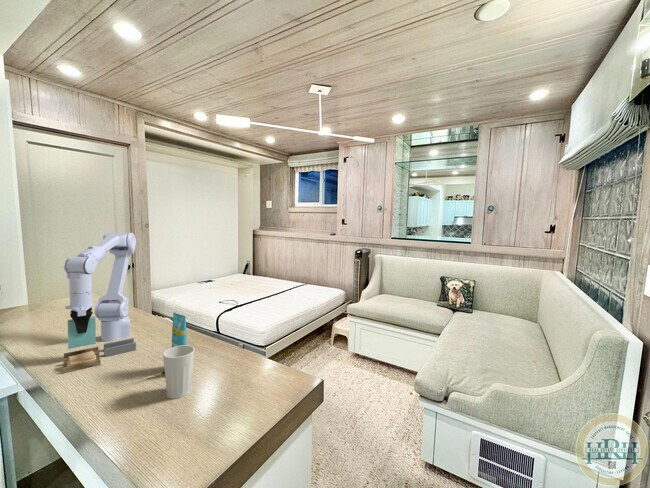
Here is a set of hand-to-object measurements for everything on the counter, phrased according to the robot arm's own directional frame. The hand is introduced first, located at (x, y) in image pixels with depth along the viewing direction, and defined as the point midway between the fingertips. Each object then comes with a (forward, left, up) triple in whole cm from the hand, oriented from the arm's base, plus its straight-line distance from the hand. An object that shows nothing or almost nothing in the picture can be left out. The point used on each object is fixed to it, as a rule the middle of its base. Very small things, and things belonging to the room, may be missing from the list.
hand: (82, 331), depth 95 cm
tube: (-23, +27, -11) cm, 37 cm away
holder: (-10, 0, -10) cm, 15 cm away
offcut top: (0, +6, -8) cm, 10 cm away
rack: (0, +3, -10) cm, 11 cm away
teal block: (0, 0, -5) cm, 5 cm away
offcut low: (0, +6, -9) cm, 11 cm away
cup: (-20, +39, -11) cm, 45 cm away
